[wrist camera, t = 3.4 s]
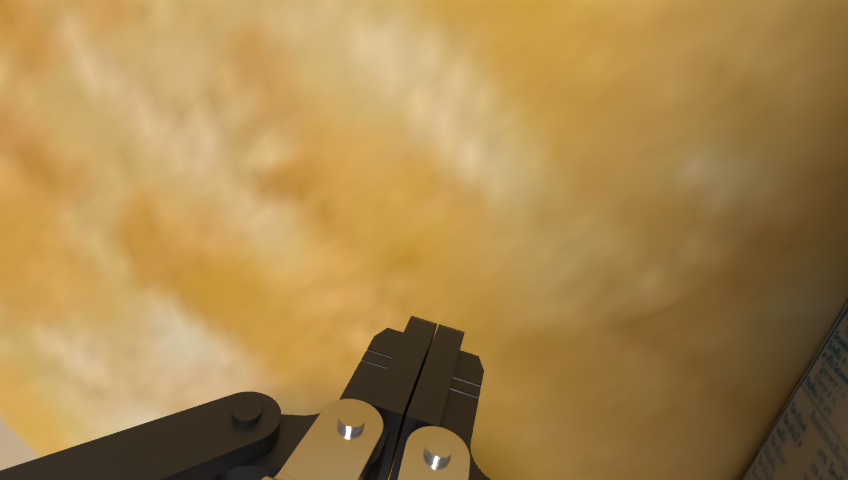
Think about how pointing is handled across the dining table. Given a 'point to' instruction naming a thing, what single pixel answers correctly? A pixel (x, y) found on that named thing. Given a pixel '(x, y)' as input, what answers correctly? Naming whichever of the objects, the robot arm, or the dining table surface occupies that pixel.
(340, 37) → the dining table surface
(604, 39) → the dining table surface
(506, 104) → the dining table surface
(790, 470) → the beverage carton
